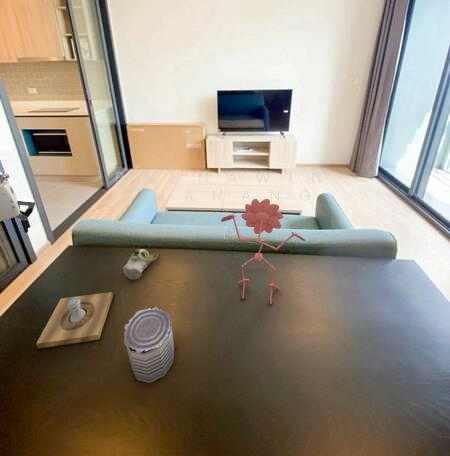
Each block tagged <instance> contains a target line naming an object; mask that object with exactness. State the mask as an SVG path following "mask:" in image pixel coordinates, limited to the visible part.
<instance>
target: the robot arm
mask: <svg viewBox="0 0 450 456" xmlns="http://www.w3.org/2000/svg"><path fill="white" fill-rule="evenodd" d="M7 179H10V174H9V173H8V172H7V173H3V172H2V171H1V170H0V222H3V221H7V220H10V219H13V218H17V219H19V220H20V224H21V226H22V229H23V232H24V233H25V234H27V233H29V228H31V224H30V220H29V217H30V216H31V215H32V213H33V211H34V208H35V205H36V201H35V200H33V199H32V200H31V199H21V198H18V197H17V194H16V193H15V191H14V189H13V187H12V185H11V184H10V182H9V181H8V180H7ZM21 206H27V208H26V210H22V209H21Z"/></svg>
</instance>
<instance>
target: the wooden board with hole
mask: <svg viewBox="0 0 450 456" xmlns="http://www.w3.org/2000/svg"><path fill="white" fill-rule="evenodd" d="M74 297H76V298H78V299H80V307H81V309H83V310H85V312H86V316H85V317H84V319H82V320H81V321H80V322H77V323H73V324H72V323H71V322H70V317H71V311H70V308H68V307H67V306H68V303H69V301H71V299H72V298H73V299H74ZM113 298H114V294H113V292H112V291H110V292H102V293H93V294H85V295H78V296H69V297H63V298H60V300H58V303H57V305H56V306H55V309H54V311H53V312H52V314H51V316H50V318H49V319H48V321H47V323H46V325H45V327H44V329H43V330H42V332H41V334H40V336H39V338H38V340H36V341H37V342H36V344H35V345H36V347H37V349H39V350H40V349H45V348H50V347H58V346H63V345H65V346H66V345H71V344H77V343H84V342H90V341H98V340H100V338H101V335H102V331H103V330H104V327H105V326H104V325H105V322H106V319H107V316H108V314H109V310H110V307H111V304H112V301H113Z"/></svg>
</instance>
